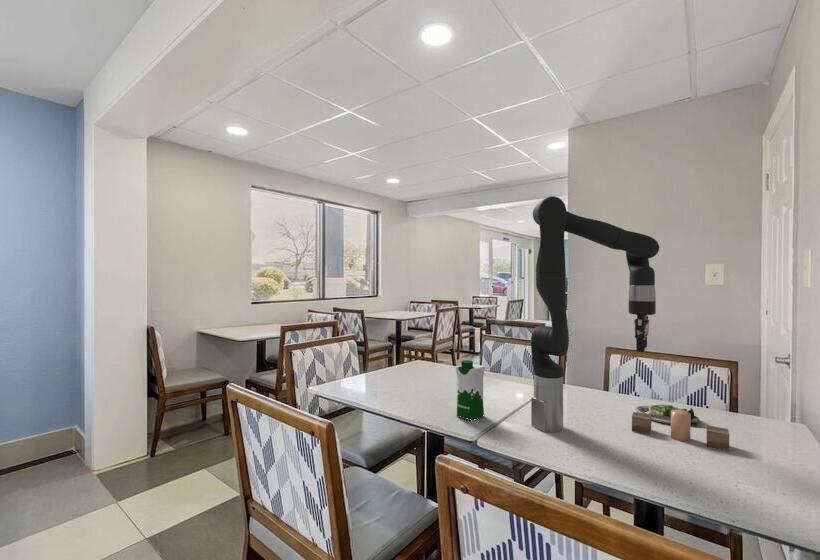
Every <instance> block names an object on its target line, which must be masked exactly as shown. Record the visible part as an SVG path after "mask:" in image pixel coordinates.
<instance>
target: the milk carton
mask: <svg viewBox="0 0 820 560" xmlns="http://www.w3.org/2000/svg"><path fill="white" fill-rule="evenodd" d="M485 369H486V366H485V365H480V364H476V363H473V360H468V359H465V360H464V359H463V360H461V364H460V365H459V364H458V365H456V366H455V373H456V397H457V398H456V400H457V401H456V417H457V416H461V417H464V418H468V419H471V420H474V419H477V418H479V417H481V416H483V415H484V416H485V411H484V409H485V408H484V376H485V371H486V370H485ZM484 416H483V417H484ZM481 418H482V417H481ZM479 419H480V418H479ZM477 420H478V419H477Z"/></svg>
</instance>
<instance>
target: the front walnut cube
mask: <svg viewBox="0 0 820 560" xmlns="http://www.w3.org/2000/svg"><path fill="white" fill-rule="evenodd" d="M705 441H707V442H706V447H707V448H708V447H709V449H713V448H715V449H714V450H718V449H720V451H723V450H725V451H724V452H728V451H729V452H730V431H729V429H728V428H725V427H720V426H713V425H708V424H706V440H705Z"/></svg>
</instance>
